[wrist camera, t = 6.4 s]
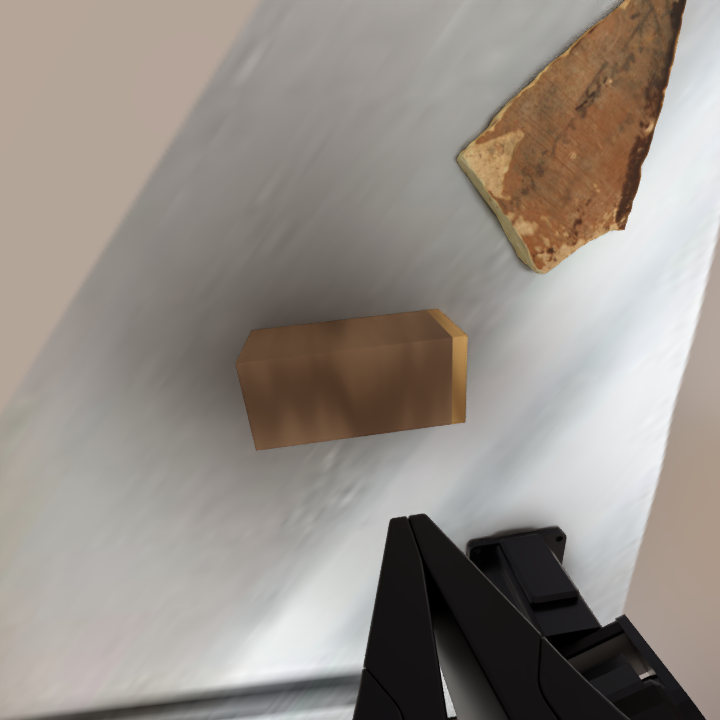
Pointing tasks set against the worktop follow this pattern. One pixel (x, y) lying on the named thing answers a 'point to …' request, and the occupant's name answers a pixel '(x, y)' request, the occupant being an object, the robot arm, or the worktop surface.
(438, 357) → the walnut block
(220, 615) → the worktop surface
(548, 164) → the shard
